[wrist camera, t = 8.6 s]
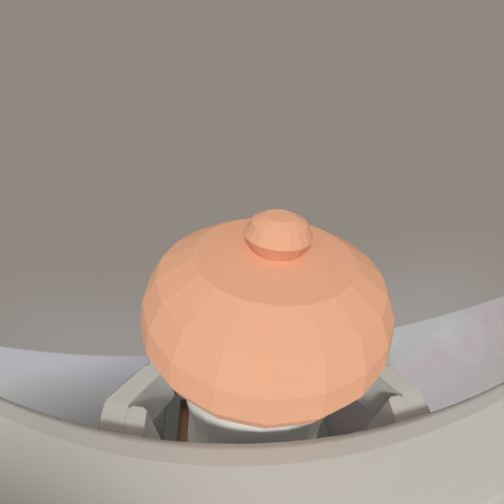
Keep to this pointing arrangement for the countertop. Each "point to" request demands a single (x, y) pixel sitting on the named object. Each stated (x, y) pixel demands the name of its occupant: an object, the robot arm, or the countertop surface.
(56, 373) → the countertop surface
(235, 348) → the salt shaker
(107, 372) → the countertop surface
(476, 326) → the countertop surface
